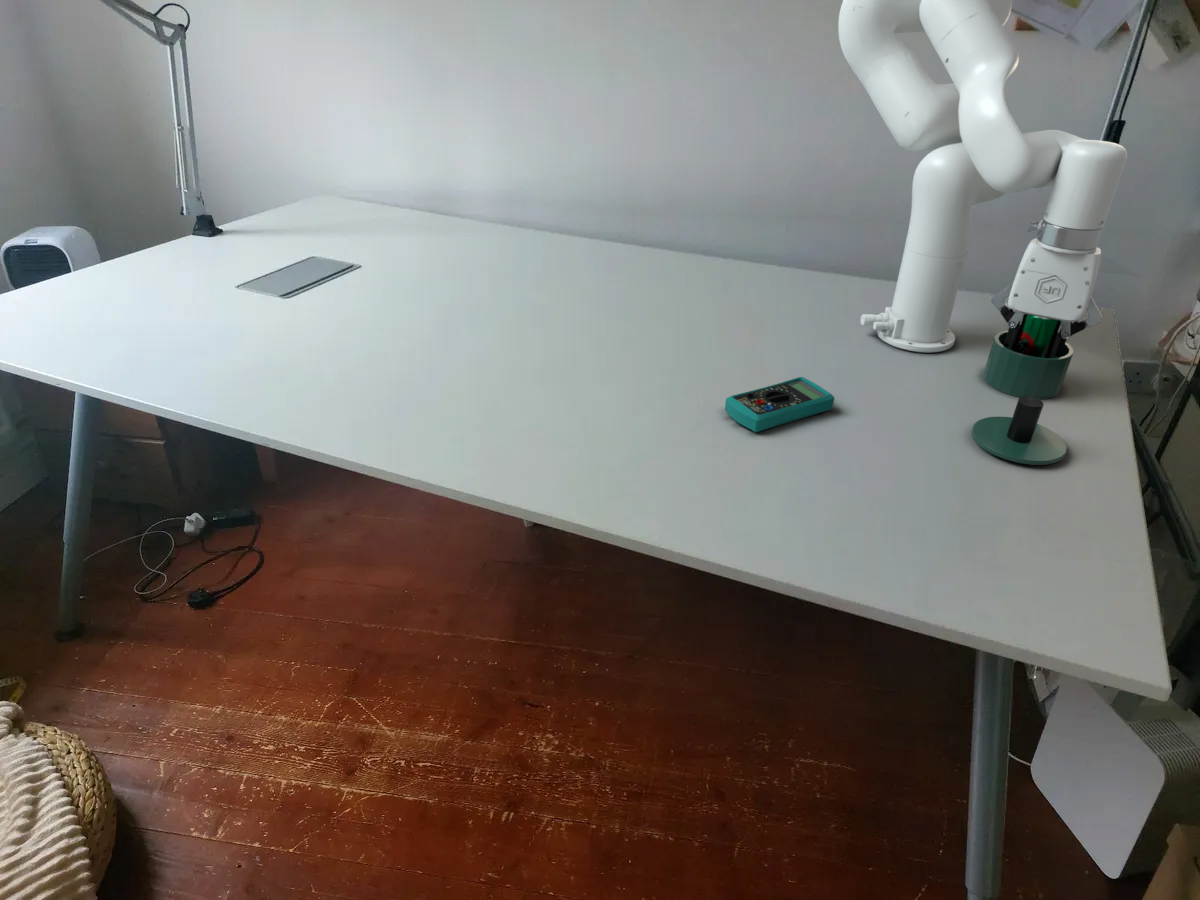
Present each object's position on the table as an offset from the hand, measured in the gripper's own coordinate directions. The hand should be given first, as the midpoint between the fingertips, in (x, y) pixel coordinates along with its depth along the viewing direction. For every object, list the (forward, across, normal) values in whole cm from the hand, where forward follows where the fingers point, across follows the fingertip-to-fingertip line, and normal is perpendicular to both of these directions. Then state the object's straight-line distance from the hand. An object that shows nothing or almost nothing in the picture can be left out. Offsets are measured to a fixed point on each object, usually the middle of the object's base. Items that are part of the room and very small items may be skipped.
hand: (1031, 353), depth 121 cm
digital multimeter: (+5, -28, -29) cm, 41 cm away
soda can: (+5, 0, 0) cm, 5 cm away
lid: (+4, +2, -20) cm, 21 cm away
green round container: (+5, 0, 0) cm, 5 cm away
